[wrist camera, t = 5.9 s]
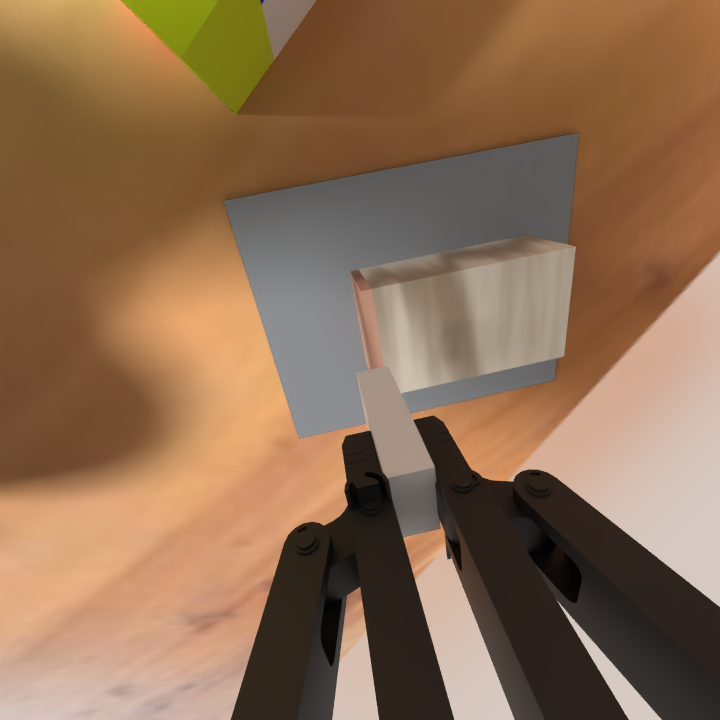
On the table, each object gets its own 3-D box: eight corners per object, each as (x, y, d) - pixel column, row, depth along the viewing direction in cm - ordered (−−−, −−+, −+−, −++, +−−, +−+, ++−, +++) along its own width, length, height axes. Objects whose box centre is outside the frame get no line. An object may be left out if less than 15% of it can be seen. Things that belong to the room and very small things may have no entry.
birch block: (379, 398, 22) (563, 356, 23) (360, 291, 19) (575, 246, 20) (366, 362, 27) (521, 328, 28) (349, 271, 24) (525, 235, 24)
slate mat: (298, 435, 29) (298, 438, 29) (224, 200, 21) (223, 200, 21) (551, 377, 31) (554, 380, 30) (574, 133, 22) (579, 132, 22)
